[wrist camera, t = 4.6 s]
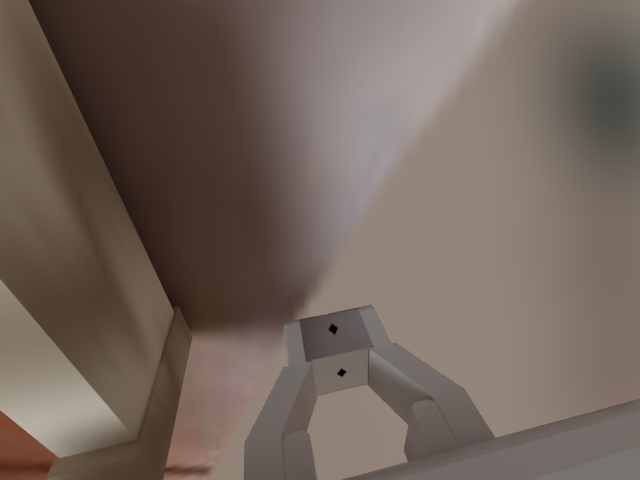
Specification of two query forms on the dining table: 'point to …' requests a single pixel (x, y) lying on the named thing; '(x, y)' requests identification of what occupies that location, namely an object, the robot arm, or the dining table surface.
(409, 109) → the dining table surface
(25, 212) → the grey rectangular bar
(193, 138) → the dining table surface
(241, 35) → the dining table surface
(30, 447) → the dining table surface
